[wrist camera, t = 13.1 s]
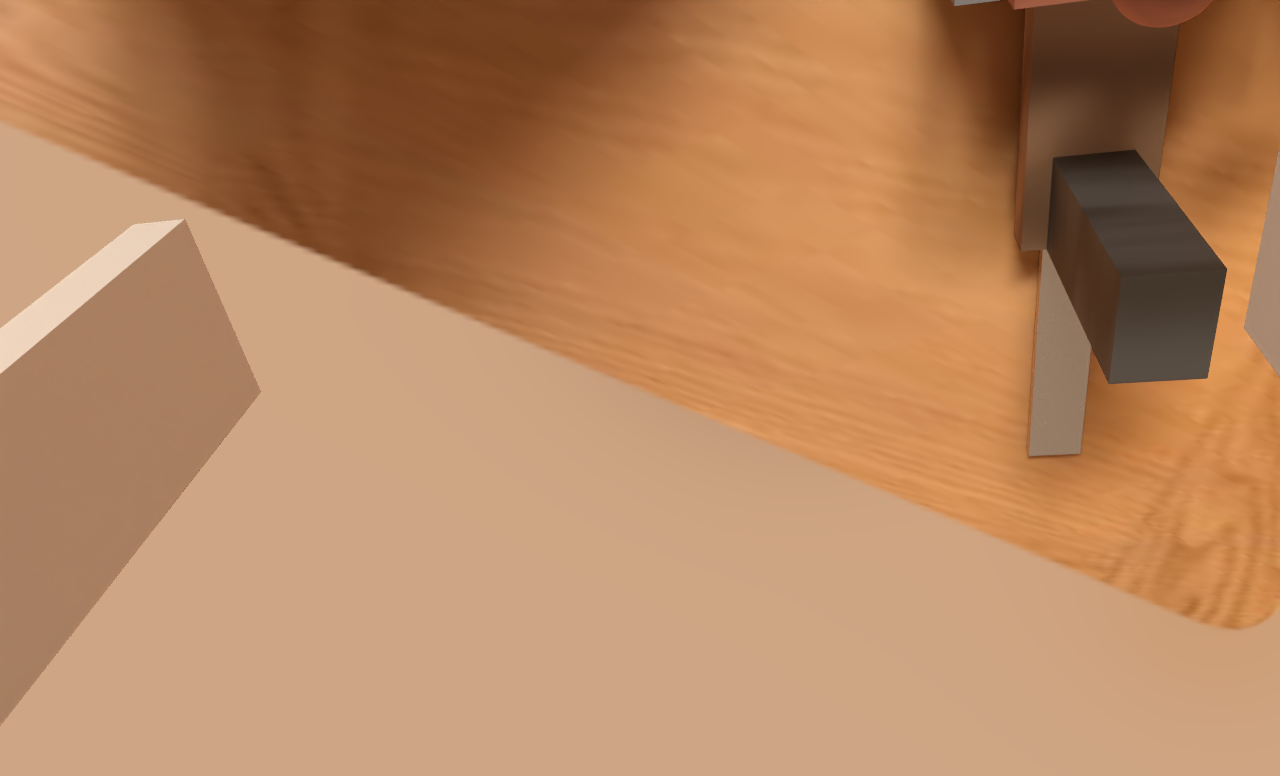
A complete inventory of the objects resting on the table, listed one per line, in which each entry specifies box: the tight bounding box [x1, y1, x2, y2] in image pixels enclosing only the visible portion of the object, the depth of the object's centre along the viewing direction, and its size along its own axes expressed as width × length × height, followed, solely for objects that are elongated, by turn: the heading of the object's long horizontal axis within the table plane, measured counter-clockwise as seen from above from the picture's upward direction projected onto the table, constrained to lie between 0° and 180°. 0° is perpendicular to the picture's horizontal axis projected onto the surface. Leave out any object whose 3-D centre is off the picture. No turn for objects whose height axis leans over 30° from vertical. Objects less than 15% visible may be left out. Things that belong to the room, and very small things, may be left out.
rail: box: [1027, 250, 1091, 456], centre depth 45 cm, size 2×17×1 cm, turn 9°
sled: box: [1008, 0, 1227, 384], centre depth 34 cm, size 14×8×12 cm, turn 9°
